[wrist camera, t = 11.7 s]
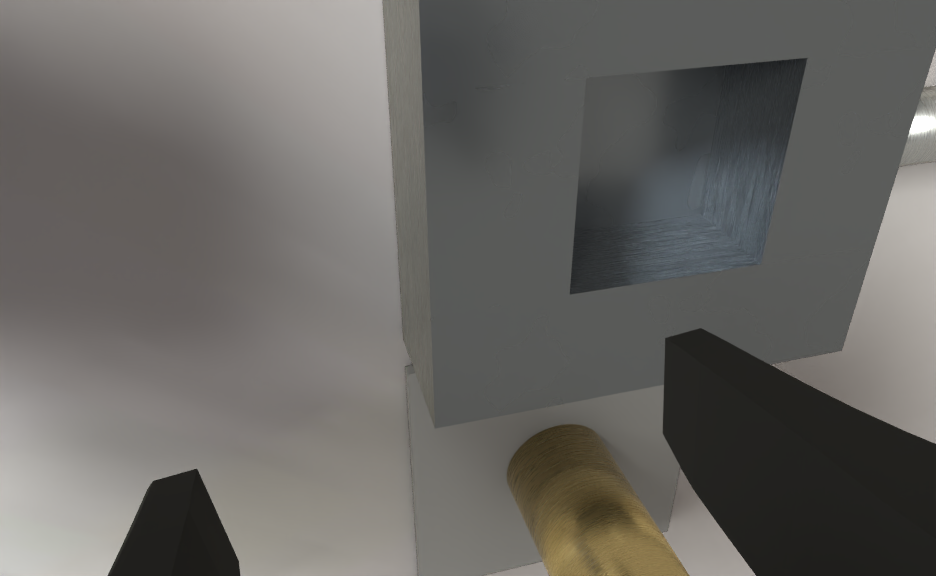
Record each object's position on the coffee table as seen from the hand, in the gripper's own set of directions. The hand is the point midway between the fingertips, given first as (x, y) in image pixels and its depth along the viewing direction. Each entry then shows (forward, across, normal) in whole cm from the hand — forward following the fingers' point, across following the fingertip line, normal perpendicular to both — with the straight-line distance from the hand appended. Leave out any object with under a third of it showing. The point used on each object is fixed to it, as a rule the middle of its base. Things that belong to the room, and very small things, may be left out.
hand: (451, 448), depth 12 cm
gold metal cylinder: (+10, -5, +12) cm, 16 cm away
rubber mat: (+10, -5, +12) cm, 16 cm away
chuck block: (+10, -11, 0) cm, 15 cm away
